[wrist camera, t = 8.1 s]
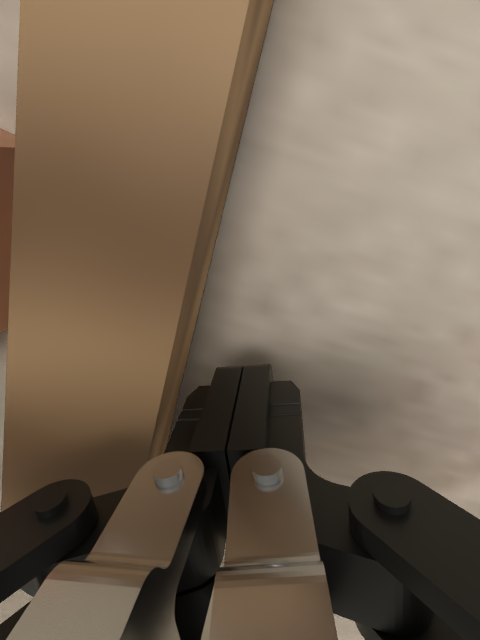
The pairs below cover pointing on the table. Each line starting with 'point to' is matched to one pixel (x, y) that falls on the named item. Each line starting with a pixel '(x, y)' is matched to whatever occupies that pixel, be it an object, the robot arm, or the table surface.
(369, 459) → the table surface
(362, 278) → the table surface
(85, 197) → the leg
